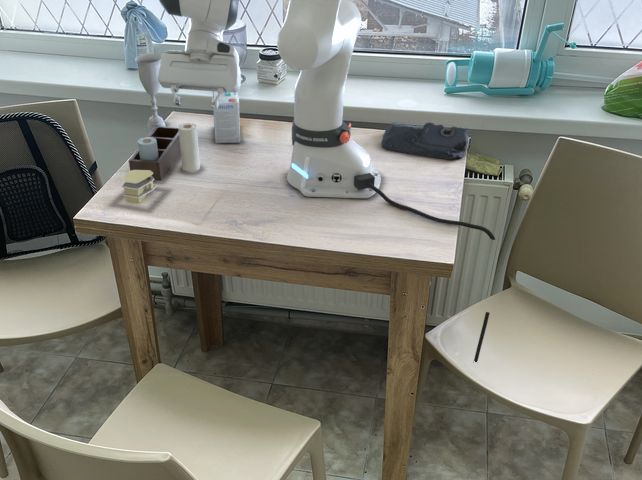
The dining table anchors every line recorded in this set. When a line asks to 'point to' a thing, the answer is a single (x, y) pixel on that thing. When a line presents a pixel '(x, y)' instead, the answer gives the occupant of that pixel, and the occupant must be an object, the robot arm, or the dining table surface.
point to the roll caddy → (159, 152)
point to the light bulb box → (227, 119)
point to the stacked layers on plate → (137, 185)
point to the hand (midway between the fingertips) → (195, 106)
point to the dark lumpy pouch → (426, 140)
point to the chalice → (150, 83)
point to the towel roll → (189, 146)
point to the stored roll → (148, 149)
